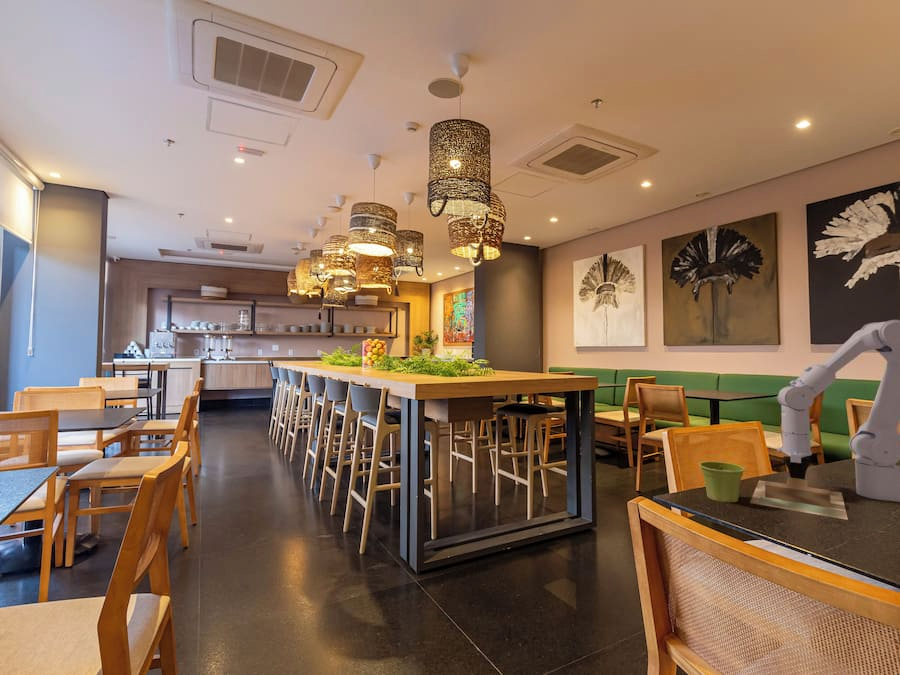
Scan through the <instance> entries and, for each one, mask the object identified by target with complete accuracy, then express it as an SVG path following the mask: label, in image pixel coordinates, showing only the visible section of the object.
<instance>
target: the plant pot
mask: <svg viewBox="0 0 900 675" xmlns="http://www.w3.org/2000/svg"><path fill="white" fill-rule="evenodd" d="M698 466H699V467H700V469H701V471H702V473H703V477H704V484H705V490H706V497H707V498H708V499H711V500H714V501H717V502H721V503H722V502H723V503H737V502H738V501H739V496H740V495H739V494H740V487H741V482H742V481H741V479H742V477H743V475H744V474H743V473H744V472H745V471H746V468H745V467H743V466H741V465H738V464H734V463H731V462H723V461H702V462H700V463H699V465H698Z"/></svg>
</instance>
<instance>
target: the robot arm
mask: <svg viewBox="0 0 900 675" xmlns="http://www.w3.org/2000/svg"><path fill="white" fill-rule="evenodd" d="M872 350H874V351H875V352H878V353H879V354H880V355H881V356H882V357H883V359H885V361H886V362H887V363H886V366H885V367H884V368H885V369H884V371H883V374H882V377H881V380H880V384H879V385H878V387H877V393H876V394H875V398H874V400H873V404H872V406H871V409H870V411H869V415H868V418H867V421H865V422H863V423H862V424H861V425H860V426H859V427H858V430H857V432H856V433H855V434H854V435H852V436H851V437H850V439H849V441H848V442H849V443H848V445H849V446H848V447H849V449H850V450H851V452H852V453H853V454H854V455H855V457H854V465H855V466H854V467H855V484H856V485H855V487H856V488H855V490H856V491H855V492H856V494H857V495H858V496H861V497H865V498H867V499H873V500H879V501H887V502H888V501H890V502H896V503H897V502H898V503H900V465H897V463H898V462H899V461H900V433H899V429H898V427H899V425H900V424H899V423H900V319H891V320H887V321H881V322H870V323H867V324H864V325H863V326H862V328H861V329H859V330H857V331H855V332H854V333H853V334H852V335H851V336H850V337H849V338H848V340H846V341H845V342H844V343H843V344H842V345H841V346H840V347H838V349H837V350H836V351H835V352H833V354H831V356H829V357H828V358H827V359H826V360H825V361H824V362H823V363H822V364H813V365H811V366H806V367H805V368H804V369H803V370H804V372H803V373H801V375H800V376H798V377H797V378H796V379H795V380H791V381H790V382H789V384H790V385H788V386H784V387H783V388H781V389H780V390H779V392H778V395H777V396H776V399H777V402H778V403H779V405H780V406H781V407H780V409H781V436H782V438H781V439H782V440H781V441H782V443H781V444H782V447H777V448H776V451H777V452H782V453H783V454H785V456H782V461H783V462H784V464H785V466H786V468H787V470H788V474H789V477H790V478H798V479H805V480H806V475H807V470H808V468H809V467H810V465H811V462H812V459H811V458H810V457H809V456H812V453H813V451H811V450H812V449H811V430H810V429H811V426H810V424H811V423H810V409H809V408H810V407H812V405H813V404H814V402H815V400H814V399H815V398H817V396H818V395H819V394H821V393H822V392H823V391H825V390H826V389H827V388H828V387H829V386H830V385H832V384H833V383H835V381H836V379H837V378H836V373H837V372H839V371H841V370H842V369H843V368H844V367H845V366H846V365H848V364H849V363H851V362H852V361H853V360H855V359H856V358H857V357H859V356H860V355H861V354H862V353H863V352H868V351H872Z"/></svg>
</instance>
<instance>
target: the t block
mask: <svg viewBox="0 0 900 675" xmlns="http://www.w3.org/2000/svg"><path fill="white" fill-rule="evenodd" d="M830 491H831V490H829V489H823V488H816V487H809V480H808V479H806V478H805V479H798V478H790V476H789V477H787V480H786V483H781V482H776V481H770V480H769V481H768V480H766V483H765V497H768V498H774V499H780V500H786V501H792V502H798V503H804V504H810V505H816V506H822V507H828V508H831V504H830Z"/></svg>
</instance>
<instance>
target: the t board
mask: <svg viewBox="0 0 900 675" xmlns="http://www.w3.org/2000/svg"><path fill="white" fill-rule="evenodd" d="M766 481H767V480H766ZM766 481H764V480H758V483H757V484H756V487H755V489H754V492H753V494H752V497H751V498H750V502H749V504H754V505H760V506H766V507H771V508H778V509H783V510H788V511H795V512H798V513H799V512H800V513H806V514H812V515H818V516H824V517H827V518H833V519H841V520H846V521H848V520H849V519H848V514H847V509H846V506H845V501H844V497H843V493H842V491H841V492H840V491H834V490H830V504H831V508H828V507H822V506H816V505H810V504H804V503H798V502H792V501H786V500H780V499H774V498H768V497H765V483H766Z"/></svg>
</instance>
